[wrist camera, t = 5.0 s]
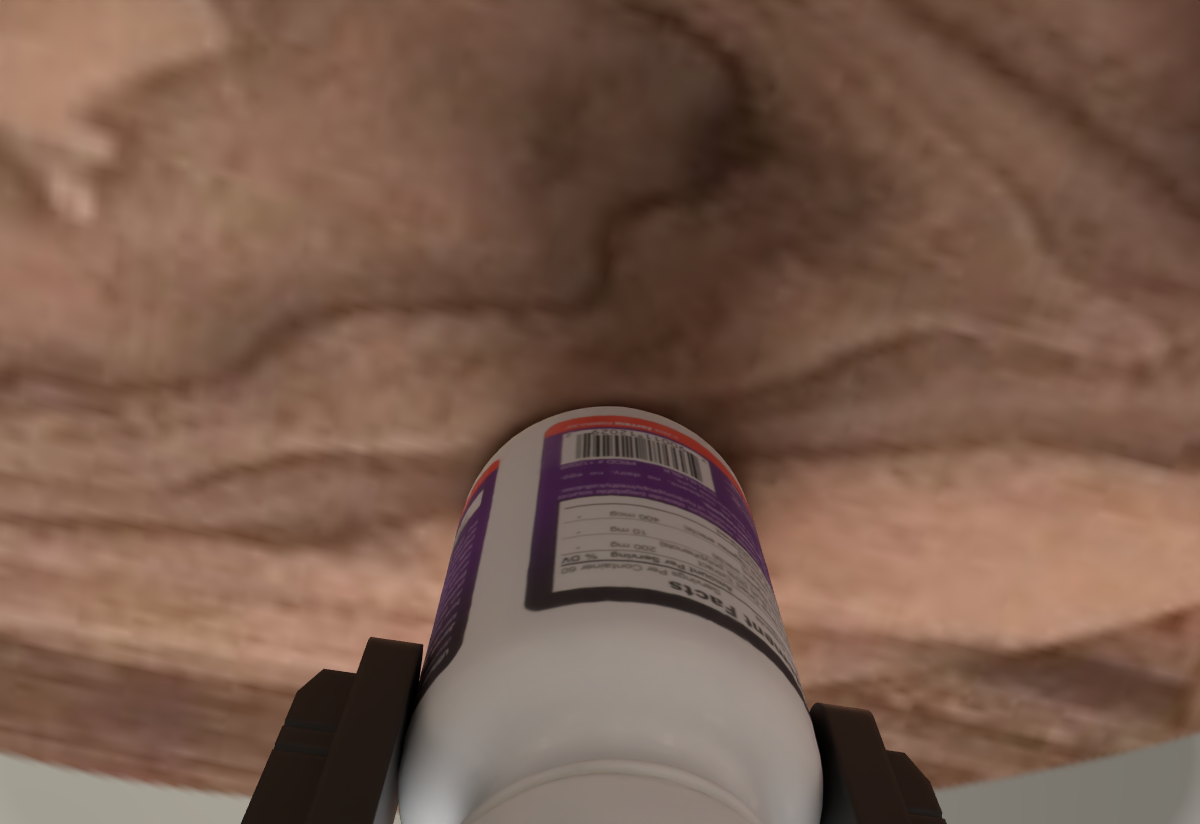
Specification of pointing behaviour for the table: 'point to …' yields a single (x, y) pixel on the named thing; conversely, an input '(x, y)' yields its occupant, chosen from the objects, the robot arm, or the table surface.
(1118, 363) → the table surface
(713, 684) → the pill bottle
